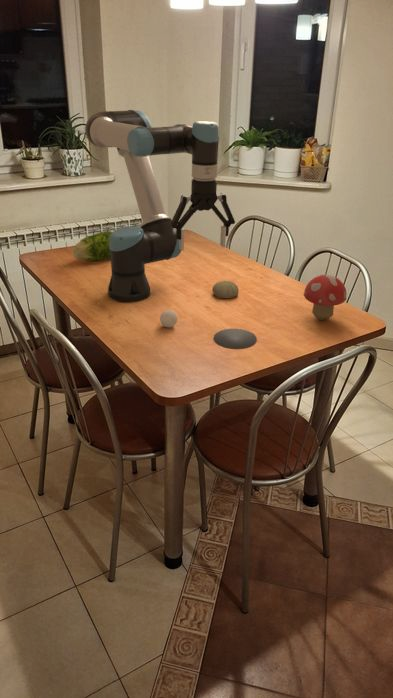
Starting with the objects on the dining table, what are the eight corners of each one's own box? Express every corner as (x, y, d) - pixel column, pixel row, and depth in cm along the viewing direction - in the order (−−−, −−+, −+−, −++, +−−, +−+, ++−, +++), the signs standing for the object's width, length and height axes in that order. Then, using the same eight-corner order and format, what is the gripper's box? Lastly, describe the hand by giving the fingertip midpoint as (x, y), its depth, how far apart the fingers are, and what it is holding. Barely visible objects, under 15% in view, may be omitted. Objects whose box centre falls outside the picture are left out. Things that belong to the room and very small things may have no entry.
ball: (157, 328, 166) (156, 312, 163) (164, 321, 170) (164, 306, 167) (173, 331, 164) (173, 315, 161) (180, 324, 168) (180, 308, 166)
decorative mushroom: (350, 326, 168) (357, 282, 161) (310, 329, 166) (315, 285, 158) (332, 309, 180) (338, 267, 172) (295, 312, 177) (299, 270, 170)
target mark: (207, 344, 157) (207, 343, 157) (221, 326, 167) (221, 325, 167) (249, 352, 152) (249, 351, 152) (261, 333, 163) (261, 332, 163)
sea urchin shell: (239, 296, 185) (223, 279, 183) (223, 309, 188) (207, 293, 187) (242, 286, 193) (227, 270, 191) (226, 299, 196) (212, 284, 195)
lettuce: (68, 262, 221) (65, 235, 216) (111, 252, 232) (109, 227, 227) (82, 269, 213) (79, 242, 208) (125, 259, 225) (124, 233, 219)
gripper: (166, 182, 150) (166, 254, 160) (248, 179, 157) (243, 248, 167) (160, 177, 156) (161, 246, 167) (239, 174, 163) (235, 241, 173)
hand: (202, 247), depth 167 cm, fingers open, 13 cm apart
